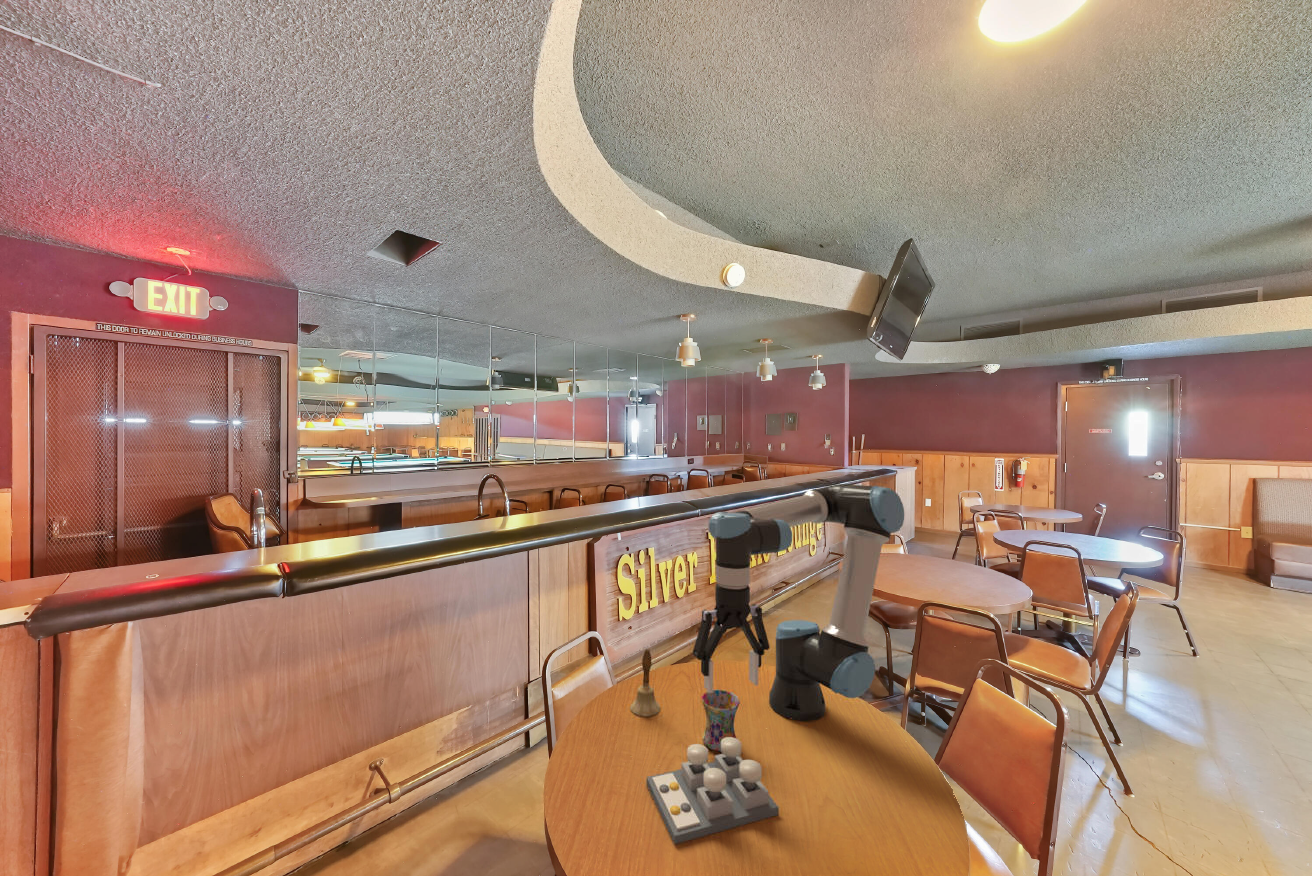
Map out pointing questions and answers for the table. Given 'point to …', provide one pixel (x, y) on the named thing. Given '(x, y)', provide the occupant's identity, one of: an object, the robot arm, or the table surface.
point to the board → (707, 801)
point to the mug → (719, 717)
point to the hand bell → (645, 692)
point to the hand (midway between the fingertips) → (731, 685)
